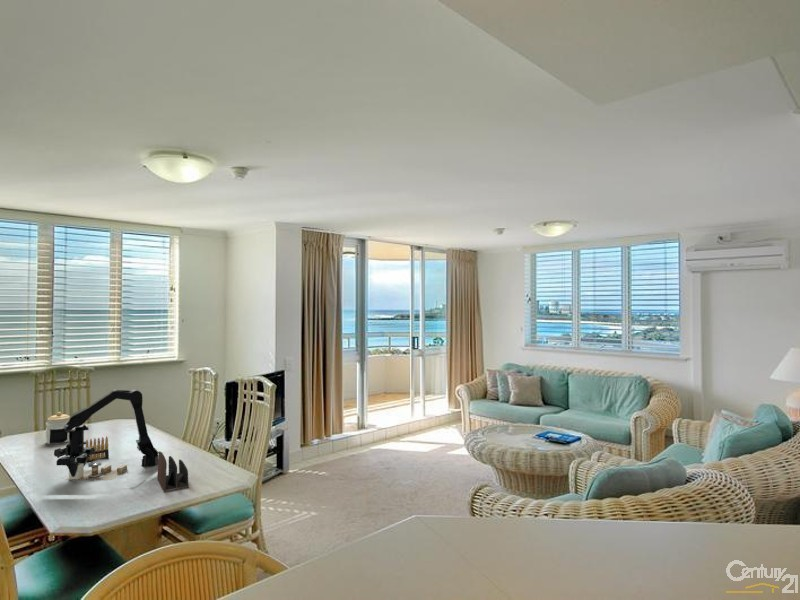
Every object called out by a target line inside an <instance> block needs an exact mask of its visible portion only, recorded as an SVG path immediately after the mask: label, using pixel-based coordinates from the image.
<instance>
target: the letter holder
mask: <svg viewBox="0 0 800 600" xmlns="http://www.w3.org/2000/svg"><path fill="white" fill-rule="evenodd" d="M158 452H159V453H158V465H157V477H156V478H157V481H158V483H159V485H160V487H161V489H162V491H163V493H168V492H174V491H178V490H185V489H188V488H189V470H188V468H187V465H186V464H185V463H184V461H183V460H182V459H178V465H177V463H176V461H175V460H174V459H175V458H173V456H171V455H169V456H168V465H167V459H166V457H165V455H164V453H163V452H162V451H161V450H160V451H158ZM167 466H168V475H167Z"/></svg>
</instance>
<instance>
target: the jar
mask: <svg viewBox="0 0 800 600" xmlns="http://www.w3.org/2000/svg"><path fill="white" fill-rule="evenodd" d="M70 416H71V415H69V414H64V413H62V412H61V411H58V412H56V414H55V415H51V416H50V417H48V418H47V421H46V422H45V425H46V428H45V443H46V444H48V445H49V435H50V429H53V428H54V429H57V428H64V426H65V425H66V424H67V423H68V421H69V417H70ZM64 443H69V432H68V433H67V440H66V441H64ZM64 443H63V444H64ZM58 444H60V443H57V444H56V445H58Z"/></svg>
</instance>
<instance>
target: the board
mask: <svg viewBox="0 0 800 600" xmlns="http://www.w3.org/2000/svg"><path fill="white" fill-rule="evenodd" d="M98 473H101V469H98ZM90 474H92V469H84V475H83V477H81V478H79V479H69V477H67V478H66V479H65V481H111V480H113V479H115V478H116V477H118V476H120V475H121V474H117V469H111V471H109V472H107V473H105V474H101V476H99V477H95V478H89V477H88V475H90Z"/></svg>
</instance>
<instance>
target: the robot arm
mask: <svg viewBox="0 0 800 600" xmlns="http://www.w3.org/2000/svg"><path fill="white" fill-rule="evenodd" d="M117 399H118V400H125V401H128V402H129V404H130V405H131V409H133V414H134V421H135V423H136V428H137V432H138V433H137V434H138V439H135V442H136V445H137V446H136V448H137V450H138V451H139V452H140V453H141V454H142V455H143V456H142V459H141V466H142V467H145V468H150V467H151V468H152V467H156V466H158V456H159V451H158V449H156V448H155V446H154V445H153V442H152V439H151V438H150V436H149V434H148V429H147V424H146V420H145V415H144V410H143V393H142V392H141V391H140V390H138V389H135V388H134V389H130V390H129V389H126V390H124V389H112V390H111V391H110V392H109V393H107V394H106V395H104V396H102V397H101V398H99V399H98V400H96V401H95V402H93V403H91V404H90V405H89V406H87V407H85V408H82V409H79V410H77V411H75V412H73V413H72V414H71V415H69V416H70V417H69V421H68V423H67V424H66V425H65V426H64V428H57V429H54V428H53V429H50V435H49V444H48V445H58V444H57V443H59V444H64V441H66V440H67V433H68V432H69V441H68V443H67V444H66V445H65V447H63V448H61V447H59V448H56V449H54V450H53V456H54V457H56V458H57V460H56V463H55V464H56V466H66V467H67V469H68V472H69V471H70V473H71V476H72V477H74V476H75V474H76V471H77V467H78V464H79V463H84V467H85V466H86V462H87V460H88V459H89V457H90V456H87V455H86V454H87V453H89V454H90V455H92V454H94V453H95V449H94V448H93V447H86V446H85V445H86V441H85V440H84V439H85V431H88V430H89V429H90V428H89V426H87V425H86V424H85V423H86V422H87V421H88V420H89V419H90V418H91V417H92V416H93V415H94V414H96V413H97V412H99V411H100V410H101V409H103V408H105V407H106V406H107V405H110V403H112V402H114V401H115V400H117Z"/></svg>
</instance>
